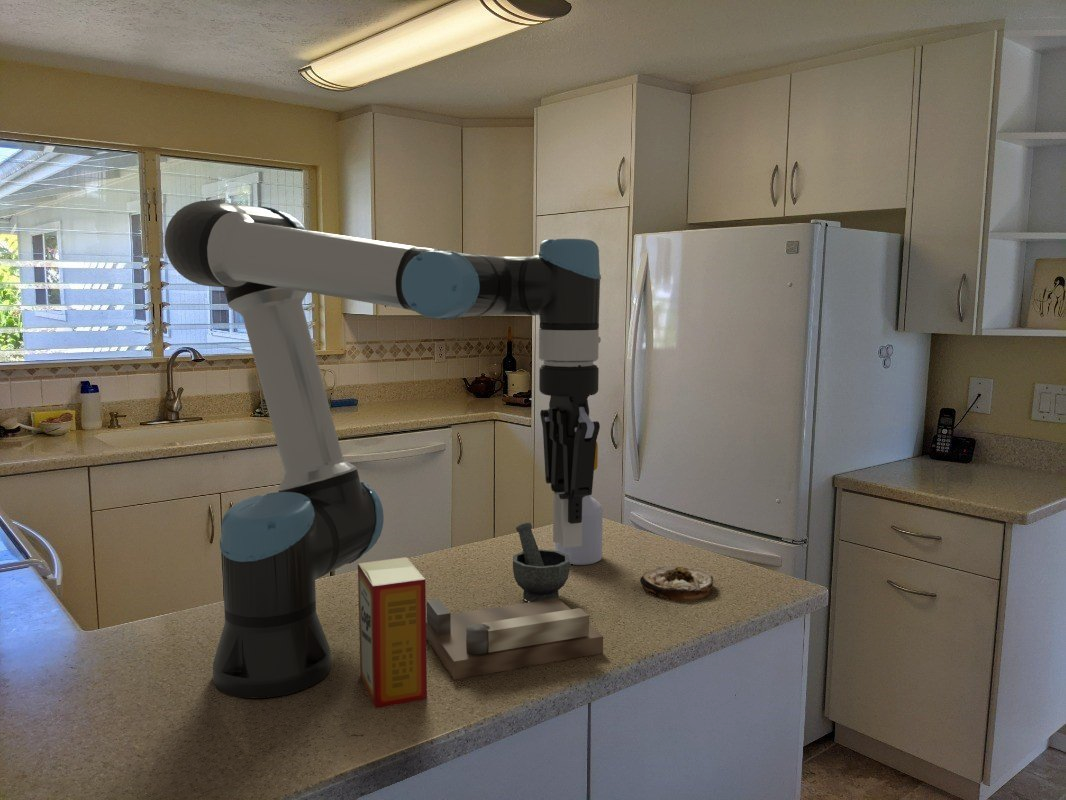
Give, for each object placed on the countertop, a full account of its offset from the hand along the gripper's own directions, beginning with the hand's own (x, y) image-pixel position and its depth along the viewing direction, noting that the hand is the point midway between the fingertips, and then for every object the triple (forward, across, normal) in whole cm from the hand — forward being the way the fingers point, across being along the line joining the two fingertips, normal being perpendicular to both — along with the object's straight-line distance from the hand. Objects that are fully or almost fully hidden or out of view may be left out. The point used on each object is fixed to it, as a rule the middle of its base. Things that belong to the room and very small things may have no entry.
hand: (567, 543), depth 108 cm
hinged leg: (+16, +7, +3) cm, 17 cm away
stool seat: (+18, +13, +3) cm, 23 cm away
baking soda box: (+19, +6, +22) cm, 29 cm away
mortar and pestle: (+19, +29, -8) cm, 35 cm away
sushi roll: (+19, +24, -32) cm, 44 cm away
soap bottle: (+19, +45, -23) cm, 54 cm away
